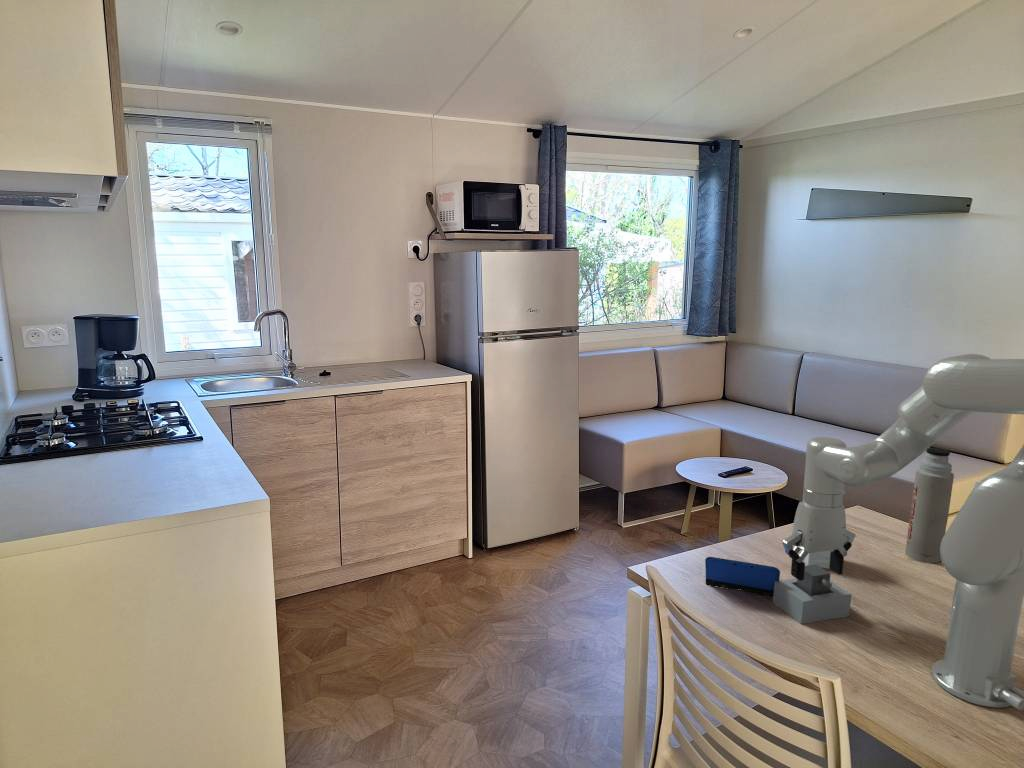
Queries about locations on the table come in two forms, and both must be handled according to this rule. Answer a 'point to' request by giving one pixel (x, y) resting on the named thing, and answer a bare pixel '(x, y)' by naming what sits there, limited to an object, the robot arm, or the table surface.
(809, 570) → the plug
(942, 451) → the thermos bottle
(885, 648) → the table surface
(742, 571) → the handheld game console
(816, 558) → the supplement box
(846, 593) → the socket
